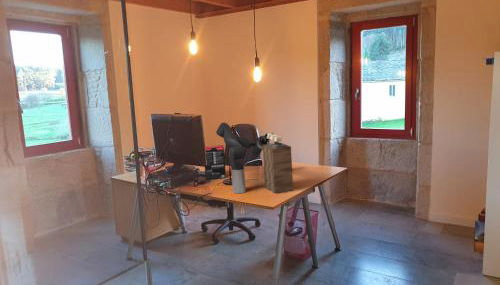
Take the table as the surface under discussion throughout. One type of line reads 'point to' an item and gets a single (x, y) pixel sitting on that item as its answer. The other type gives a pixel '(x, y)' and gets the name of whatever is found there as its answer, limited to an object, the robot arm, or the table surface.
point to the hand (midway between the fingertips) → (269, 134)
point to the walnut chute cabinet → (278, 167)
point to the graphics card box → (215, 162)
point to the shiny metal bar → (273, 137)
